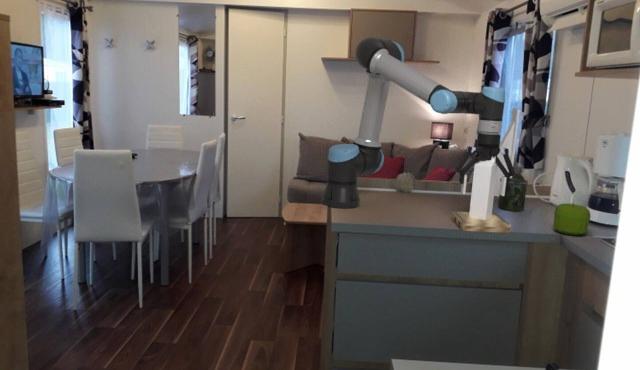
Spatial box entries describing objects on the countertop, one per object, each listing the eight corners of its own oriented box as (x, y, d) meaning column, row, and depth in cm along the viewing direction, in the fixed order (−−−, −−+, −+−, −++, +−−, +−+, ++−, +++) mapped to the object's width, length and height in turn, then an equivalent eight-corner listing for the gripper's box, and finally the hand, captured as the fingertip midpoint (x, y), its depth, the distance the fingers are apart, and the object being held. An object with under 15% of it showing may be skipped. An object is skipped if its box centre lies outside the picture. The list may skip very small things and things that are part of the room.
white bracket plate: (474, 189, 259) (483, 106, 252) (505, 191, 256) (514, 108, 248) (476, 196, 240) (485, 107, 233) (509, 199, 236) (519, 109, 229)
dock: (462, 230, 178) (463, 221, 177) (451, 219, 193) (451, 210, 193) (509, 233, 178) (510, 224, 177) (494, 221, 194) (495, 212, 193)
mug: (520, 207, 222) (524, 178, 220) (530, 215, 208) (534, 185, 205) (494, 205, 223) (497, 177, 221) (501, 212, 209) (505, 183, 206)
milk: (474, 214, 189) (481, 153, 185) (491, 218, 186) (498, 155, 182) (468, 217, 184) (475, 154, 181) (485, 220, 181) (492, 156, 177)
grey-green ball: (412, 197, 243) (422, 177, 241) (403, 196, 237) (412, 176, 234) (397, 187, 249) (406, 168, 246) (387, 186, 242) (396, 167, 240)
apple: (556, 236, 177) (560, 204, 175) (548, 228, 188) (552, 198, 186) (591, 239, 176) (596, 207, 174) (581, 231, 186) (586, 200, 184)
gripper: (455, 132, 176) (449, 194, 180) (530, 136, 176) (522, 198, 180) (450, 130, 183) (444, 190, 187) (521, 134, 183) (514, 193, 187)
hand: (482, 194), depth 184 cm, fingers open, 13 cm apart
